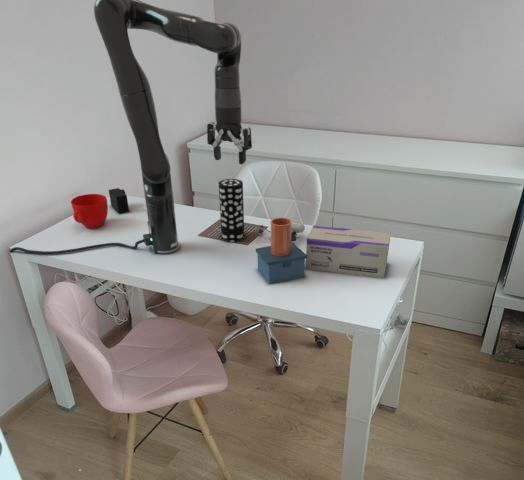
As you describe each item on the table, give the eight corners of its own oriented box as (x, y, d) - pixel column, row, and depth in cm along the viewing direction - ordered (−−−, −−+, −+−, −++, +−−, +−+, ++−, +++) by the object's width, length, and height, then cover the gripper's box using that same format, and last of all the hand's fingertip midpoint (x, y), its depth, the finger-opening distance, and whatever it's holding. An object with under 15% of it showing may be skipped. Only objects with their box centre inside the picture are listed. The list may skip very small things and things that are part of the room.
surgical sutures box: (305, 268, 175) (306, 238, 169) (312, 255, 184) (313, 225, 177) (383, 278, 169) (387, 246, 163) (386, 263, 178) (390, 233, 172)
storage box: (268, 284, 167) (268, 262, 162) (255, 269, 175) (255, 248, 171) (306, 277, 170) (307, 255, 166) (292, 263, 179) (292, 242, 174)
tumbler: (275, 257, 165) (275, 226, 159) (267, 249, 170) (267, 219, 164) (294, 254, 167) (294, 223, 161) (286, 246, 172) (286, 216, 166)
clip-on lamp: (251, 247, 196) (295, 246, 187) (247, 231, 193) (291, 229, 184) (266, 232, 204) (309, 231, 195) (262, 217, 201) (305, 214, 191)
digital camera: (132, 211, 219) (129, 194, 215) (119, 214, 216) (116, 197, 212) (124, 203, 226) (121, 187, 222) (111, 206, 224) (108, 189, 220)
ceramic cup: (63, 233, 201) (57, 207, 195) (88, 217, 214) (83, 192, 208) (94, 237, 198) (88, 211, 192) (117, 220, 211) (113, 195, 205)
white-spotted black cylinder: (243, 242, 193) (242, 186, 181) (220, 242, 193) (217, 186, 182) (244, 232, 200) (243, 178, 188) (222, 232, 200) (219, 178, 188)
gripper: (200, 104, 155) (203, 161, 164) (242, 109, 149) (243, 168, 159) (214, 99, 160) (217, 155, 170) (255, 104, 155) (256, 161, 164)
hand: (229, 161), depth 164 cm, fingers open, 8 cm apart
